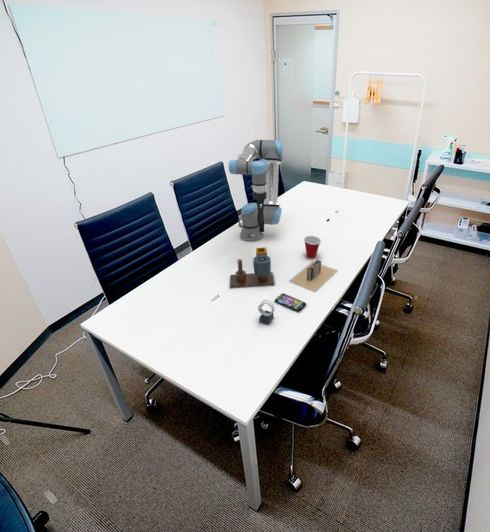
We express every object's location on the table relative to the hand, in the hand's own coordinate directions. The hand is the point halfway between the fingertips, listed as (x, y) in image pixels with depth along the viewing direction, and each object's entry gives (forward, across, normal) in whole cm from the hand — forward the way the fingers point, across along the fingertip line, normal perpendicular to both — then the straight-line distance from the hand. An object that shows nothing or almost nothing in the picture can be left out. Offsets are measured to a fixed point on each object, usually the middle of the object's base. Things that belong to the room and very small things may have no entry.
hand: (261, 226), depth 193 cm
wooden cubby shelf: (+24, +2, -1) cm, 24 cm away
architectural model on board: (+24, +20, +28) cm, 42 cm away
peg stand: (+23, +21, -7) cm, 32 cm away
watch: (+23, +54, -1) cm, 59 cm away
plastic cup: (+24, -3, +31) cm, 39 cm away
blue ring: (+17, +21, -1) cm, 27 cm away
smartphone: (+23, +43, +12) cm, 50 cm away
